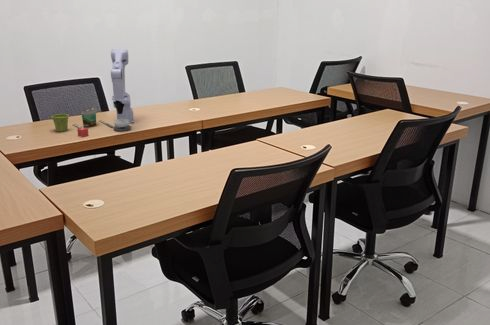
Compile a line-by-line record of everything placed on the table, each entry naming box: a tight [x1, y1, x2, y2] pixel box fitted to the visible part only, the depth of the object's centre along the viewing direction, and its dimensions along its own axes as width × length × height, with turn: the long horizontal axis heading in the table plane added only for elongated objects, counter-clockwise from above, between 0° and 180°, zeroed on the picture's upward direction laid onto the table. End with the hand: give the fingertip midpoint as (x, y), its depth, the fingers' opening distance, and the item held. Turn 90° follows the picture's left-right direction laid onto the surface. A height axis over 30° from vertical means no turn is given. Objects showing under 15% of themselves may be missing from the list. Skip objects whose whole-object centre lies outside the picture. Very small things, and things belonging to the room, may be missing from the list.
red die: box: [76, 126, 90, 138], centre depth 273 cm, size 4×4×4 cm
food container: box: [80, 106, 98, 128], centre depth 293 cm, size 12×6×10 cm, turn 168°
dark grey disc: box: [112, 125, 132, 133], centre depth 287 cm, size 10×10×1 cm
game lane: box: [72, 119, 115, 129], centre depth 293 cm, size 18×20×1 cm
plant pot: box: [50, 113, 70, 133], centre depth 283 cm, size 9×9×9 cm
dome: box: [114, 118, 130, 127], centre depth 286 cm, size 8×8×4 cm
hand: (120, 113), depth 284 cm, fingers closed
